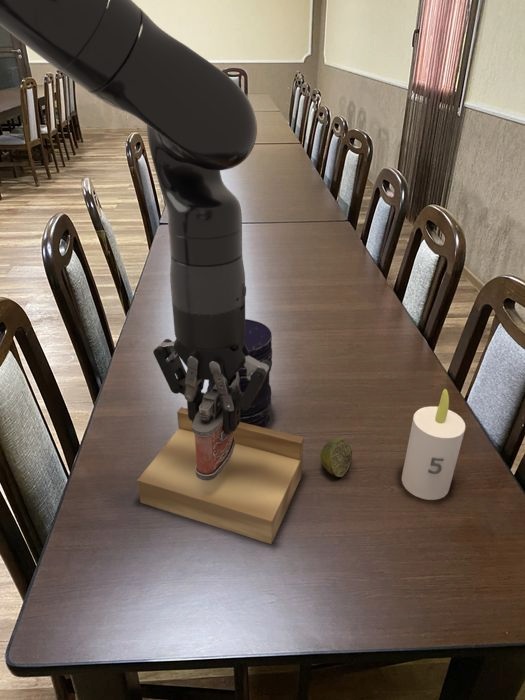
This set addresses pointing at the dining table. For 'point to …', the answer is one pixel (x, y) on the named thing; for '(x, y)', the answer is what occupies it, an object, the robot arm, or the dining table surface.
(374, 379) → the dining table surface
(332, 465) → the lime
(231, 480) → the shelf
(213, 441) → the lighter
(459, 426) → the candle
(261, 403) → the dark blue cylinder
